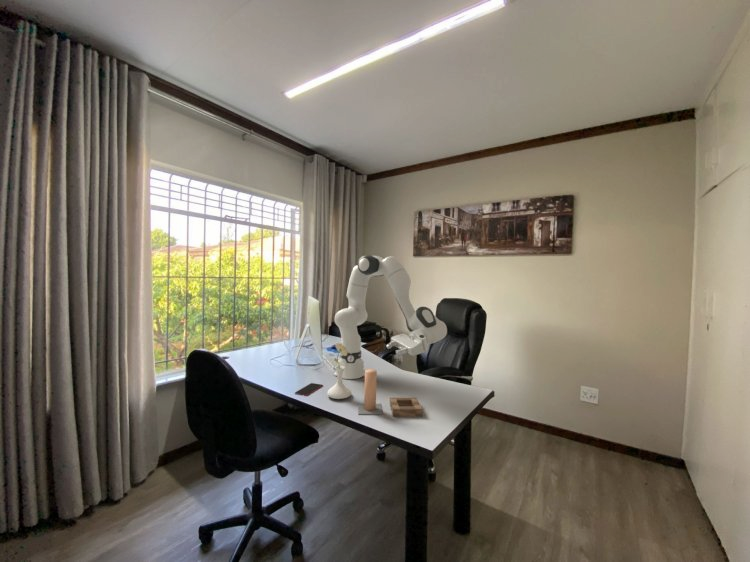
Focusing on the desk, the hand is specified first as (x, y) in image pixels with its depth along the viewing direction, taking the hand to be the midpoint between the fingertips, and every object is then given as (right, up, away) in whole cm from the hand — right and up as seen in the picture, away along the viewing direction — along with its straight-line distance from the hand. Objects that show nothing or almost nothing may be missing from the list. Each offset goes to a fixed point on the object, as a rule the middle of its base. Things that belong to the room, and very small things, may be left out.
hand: (391, 349), depth 137 cm
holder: (+5, -24, -8) cm, 26 cm away
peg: (-10, -23, -8) cm, 26 cm away
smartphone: (-40, -23, +13) cm, 48 cm away
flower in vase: (-25, -23, +6) cm, 34 cm away
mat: (-10, -23, -8) cm, 27 cm away
